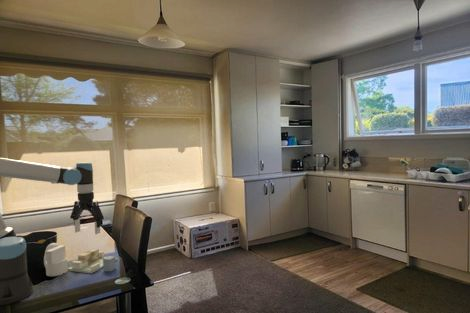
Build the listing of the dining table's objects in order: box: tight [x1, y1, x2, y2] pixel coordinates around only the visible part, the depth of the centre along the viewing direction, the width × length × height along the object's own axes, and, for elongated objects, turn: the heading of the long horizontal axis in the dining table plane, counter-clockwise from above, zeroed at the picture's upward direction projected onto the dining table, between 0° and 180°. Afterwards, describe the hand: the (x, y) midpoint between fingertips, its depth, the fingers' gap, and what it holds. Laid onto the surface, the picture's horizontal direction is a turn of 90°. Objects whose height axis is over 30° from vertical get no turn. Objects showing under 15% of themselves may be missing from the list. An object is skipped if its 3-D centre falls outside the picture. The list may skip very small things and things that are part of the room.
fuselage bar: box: [77, 248, 100, 264], centre depth 157 cm, size 10×4×5 cm, turn 163°
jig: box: [67, 250, 118, 274], centre depth 155 cm, size 18×15×4 cm
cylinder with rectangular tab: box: [45, 244, 68, 277], centre depth 147 cm, size 9×9×12 cm
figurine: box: [43, 242, 60, 269], centre depth 156 cm, size 7×8×12 cm
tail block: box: [102, 255, 117, 272], centre depth 148 cm, size 4×4×6 cm
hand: (87, 232), depth 156 cm, fingers open, 13 cm apart
